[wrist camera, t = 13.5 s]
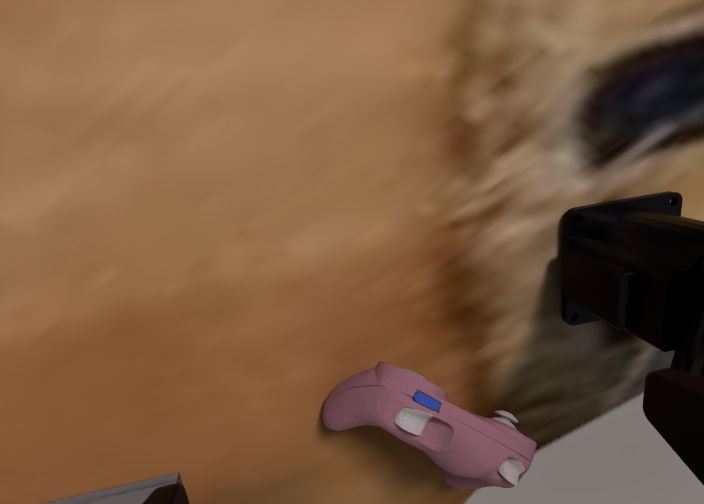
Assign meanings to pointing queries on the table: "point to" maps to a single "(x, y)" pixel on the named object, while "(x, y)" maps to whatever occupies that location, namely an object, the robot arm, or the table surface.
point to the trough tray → (123, 492)
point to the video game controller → (433, 426)
